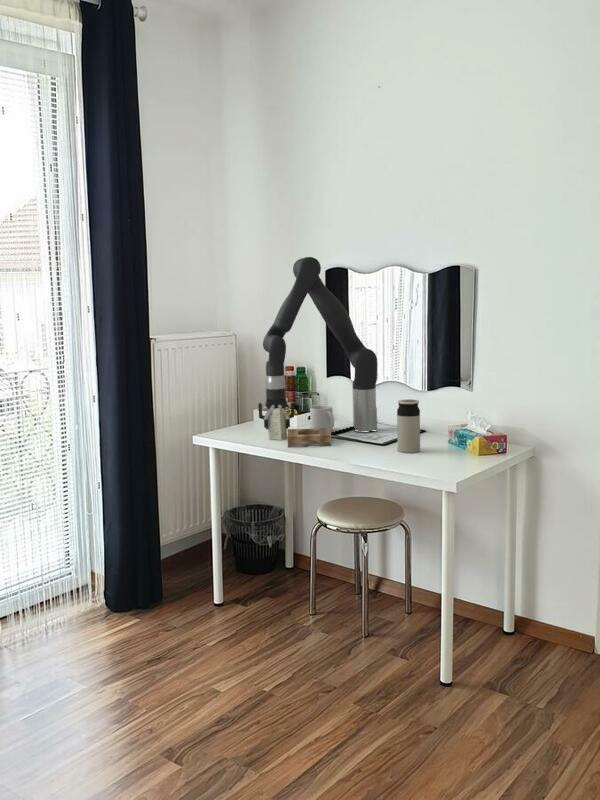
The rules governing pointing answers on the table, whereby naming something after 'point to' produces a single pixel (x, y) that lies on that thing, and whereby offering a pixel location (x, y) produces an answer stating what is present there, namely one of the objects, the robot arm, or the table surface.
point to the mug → (322, 417)
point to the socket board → (309, 437)
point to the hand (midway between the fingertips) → (277, 428)
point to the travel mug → (408, 426)
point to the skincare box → (277, 424)
